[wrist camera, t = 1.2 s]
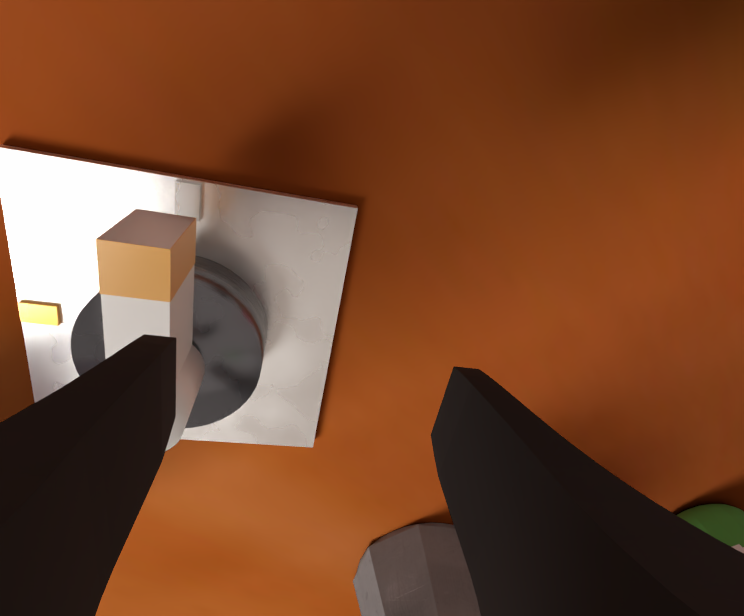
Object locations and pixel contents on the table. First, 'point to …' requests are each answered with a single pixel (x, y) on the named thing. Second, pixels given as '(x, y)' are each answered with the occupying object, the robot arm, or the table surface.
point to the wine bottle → (718, 522)
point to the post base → (211, 285)
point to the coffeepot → (416, 574)
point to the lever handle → (152, 294)
